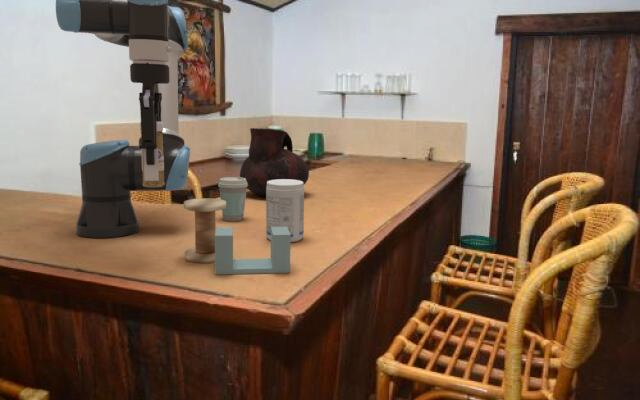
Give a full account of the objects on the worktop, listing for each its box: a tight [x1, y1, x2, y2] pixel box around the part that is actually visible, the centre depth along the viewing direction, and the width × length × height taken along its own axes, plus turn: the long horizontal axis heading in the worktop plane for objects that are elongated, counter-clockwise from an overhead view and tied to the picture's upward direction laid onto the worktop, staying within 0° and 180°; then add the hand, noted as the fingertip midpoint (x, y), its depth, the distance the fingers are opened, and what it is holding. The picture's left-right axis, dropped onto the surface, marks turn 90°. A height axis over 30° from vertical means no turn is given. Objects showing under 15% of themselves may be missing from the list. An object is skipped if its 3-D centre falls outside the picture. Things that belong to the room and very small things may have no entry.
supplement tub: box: [265, 179, 305, 243], centre depth 135 cm, size 10×10×15 cm
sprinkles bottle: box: [139, 121, 165, 187], centre depth 111 cm, size 5×5×13 cm
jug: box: [239, 127, 310, 198], centre depth 195 cm, size 25×25×25 cm
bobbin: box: [183, 197, 226, 264], centre depth 117 cm, size 9×9×12 cm
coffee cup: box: [217, 176, 248, 222], centre depth 155 cm, size 8×8×12 cm
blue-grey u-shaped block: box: [214, 226, 291, 275], centre depth 111 cm, size 15×7×8 cm, turn 99°
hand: (153, 177), depth 112 cm, fingers closed on sprinkles bottle, 4 cm apart
